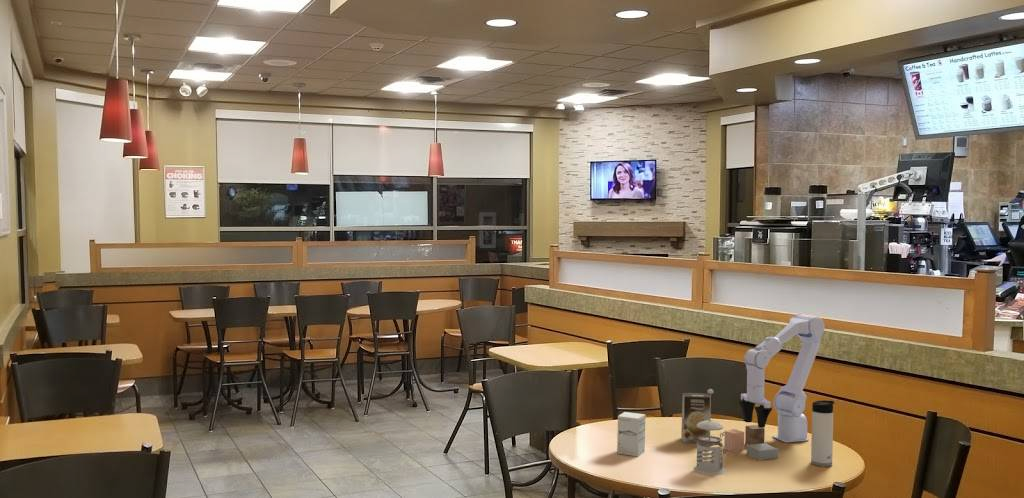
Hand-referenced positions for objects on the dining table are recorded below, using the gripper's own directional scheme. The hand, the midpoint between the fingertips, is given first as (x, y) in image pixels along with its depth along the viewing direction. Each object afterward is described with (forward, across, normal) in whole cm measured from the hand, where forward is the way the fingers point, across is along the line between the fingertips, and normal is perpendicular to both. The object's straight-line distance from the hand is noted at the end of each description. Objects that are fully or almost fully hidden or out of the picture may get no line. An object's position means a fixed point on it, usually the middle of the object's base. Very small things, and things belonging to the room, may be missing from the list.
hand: (754, 424), depth 289 cm
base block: (+7, +13, -6) cm, 16 cm away
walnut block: (+7, 0, 0) cm, 7 cm away
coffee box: (+7, -10, -17) cm, 21 cm away
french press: (+7, +22, -30) cm, 38 cm away
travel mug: (+7, +26, +7) cm, 28 cm away
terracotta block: (+7, +3, -10) cm, 12 cm away
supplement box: (+7, -3, -45) cm, 46 cm away
